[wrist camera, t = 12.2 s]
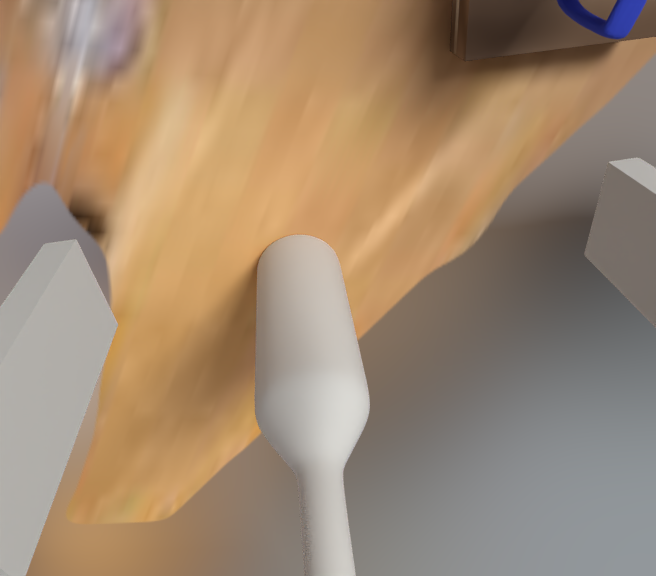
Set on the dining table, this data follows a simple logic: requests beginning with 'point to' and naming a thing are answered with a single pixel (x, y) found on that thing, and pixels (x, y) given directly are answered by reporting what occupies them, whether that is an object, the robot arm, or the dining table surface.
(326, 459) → the bottle
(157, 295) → the dining table surface
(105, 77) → the dining table surface
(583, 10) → the mug
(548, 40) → the board
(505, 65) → the dining table surface
